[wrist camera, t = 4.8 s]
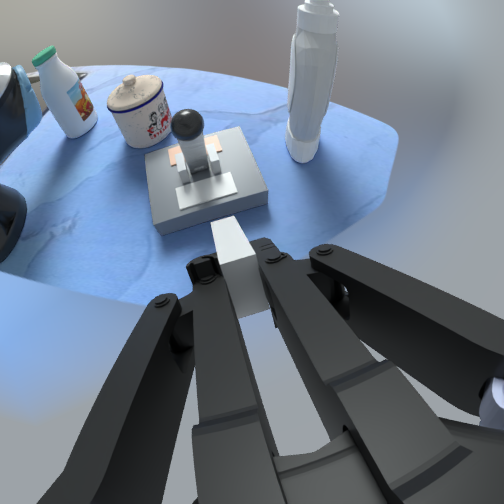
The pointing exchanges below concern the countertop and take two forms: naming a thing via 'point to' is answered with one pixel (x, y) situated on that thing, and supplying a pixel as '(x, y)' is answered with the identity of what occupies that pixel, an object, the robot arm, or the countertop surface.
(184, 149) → the lever
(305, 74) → the soap bottle
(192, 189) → the switch base
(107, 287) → the countertop surface
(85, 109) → the milk bottle
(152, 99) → the teacup with lid
